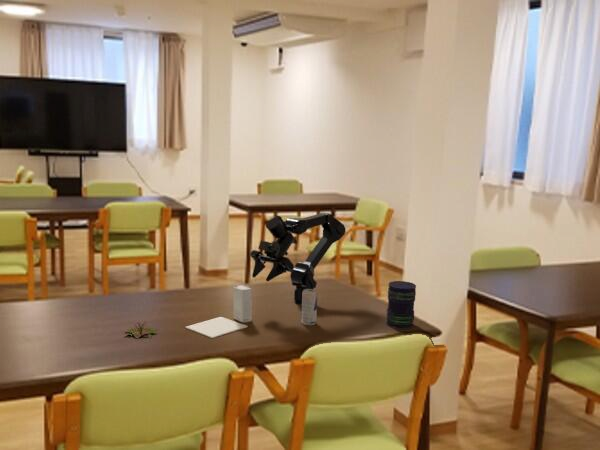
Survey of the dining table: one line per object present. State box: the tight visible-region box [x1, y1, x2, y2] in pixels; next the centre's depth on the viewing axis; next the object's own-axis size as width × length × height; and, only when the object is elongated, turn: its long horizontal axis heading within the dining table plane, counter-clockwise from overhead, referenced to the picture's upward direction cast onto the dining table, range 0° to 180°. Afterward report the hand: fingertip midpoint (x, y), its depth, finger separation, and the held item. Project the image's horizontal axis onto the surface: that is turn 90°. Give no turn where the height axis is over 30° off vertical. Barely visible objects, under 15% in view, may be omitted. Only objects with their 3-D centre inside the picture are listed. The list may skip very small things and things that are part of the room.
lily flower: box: [124, 320, 159, 339], centre depth 200 cm, size 12×12×5 cm
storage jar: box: [385, 280, 417, 330], centre depth 216 cm, size 10×10×15 cm
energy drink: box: [300, 288, 318, 326], centre depth 215 cm, size 5×5×12 cm
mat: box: [185, 316, 248, 339], centre depth 208 cm, size 16×14×1 cm
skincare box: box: [232, 284, 253, 324], centre depth 216 cm, size 6×4×12 cm
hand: (259, 278), depth 221 cm, fingers open, 7 cm apart
